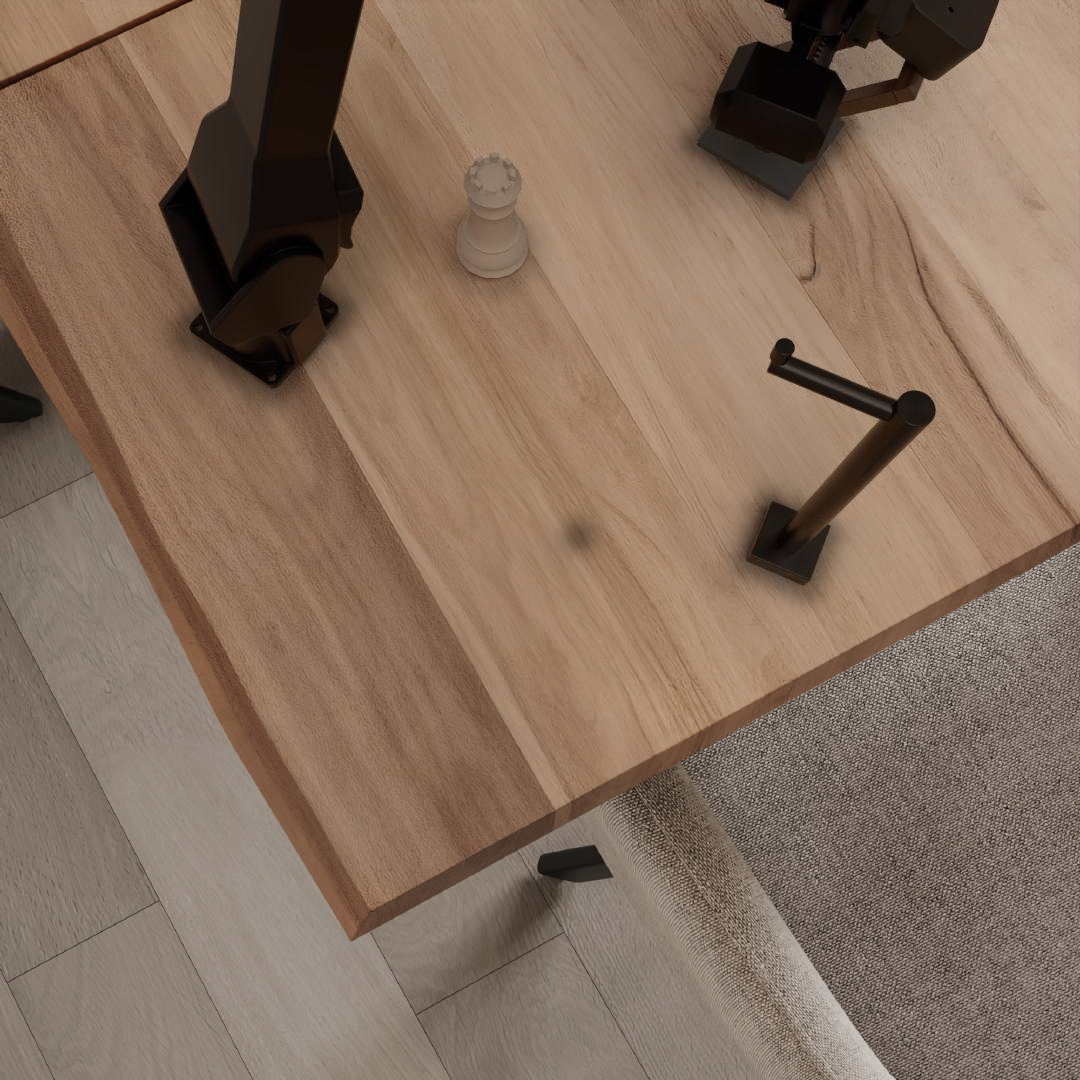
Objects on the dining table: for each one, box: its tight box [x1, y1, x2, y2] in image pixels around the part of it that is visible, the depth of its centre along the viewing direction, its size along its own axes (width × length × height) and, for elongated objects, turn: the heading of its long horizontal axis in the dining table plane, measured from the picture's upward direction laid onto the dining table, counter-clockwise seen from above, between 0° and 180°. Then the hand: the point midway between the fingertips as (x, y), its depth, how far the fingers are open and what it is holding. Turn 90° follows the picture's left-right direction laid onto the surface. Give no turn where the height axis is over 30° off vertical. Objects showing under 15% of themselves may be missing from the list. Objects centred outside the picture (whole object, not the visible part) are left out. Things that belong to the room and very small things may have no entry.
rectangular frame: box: [733, 30, 925, 141], centre depth 64 cm, size 1×7×13 cm
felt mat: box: [696, 118, 846, 201], centre depth 71 cm, size 7×7×1 cm
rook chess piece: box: [455, 151, 529, 279], centre depth 64 cm, size 4×4×8 cm
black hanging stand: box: [746, 337, 937, 586], centre depth 53 cm, size 8×4×20 cm, turn 66°
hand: (782, 105), depth 68 cm, fingers closed on rectangular frame, 7 cm apart
